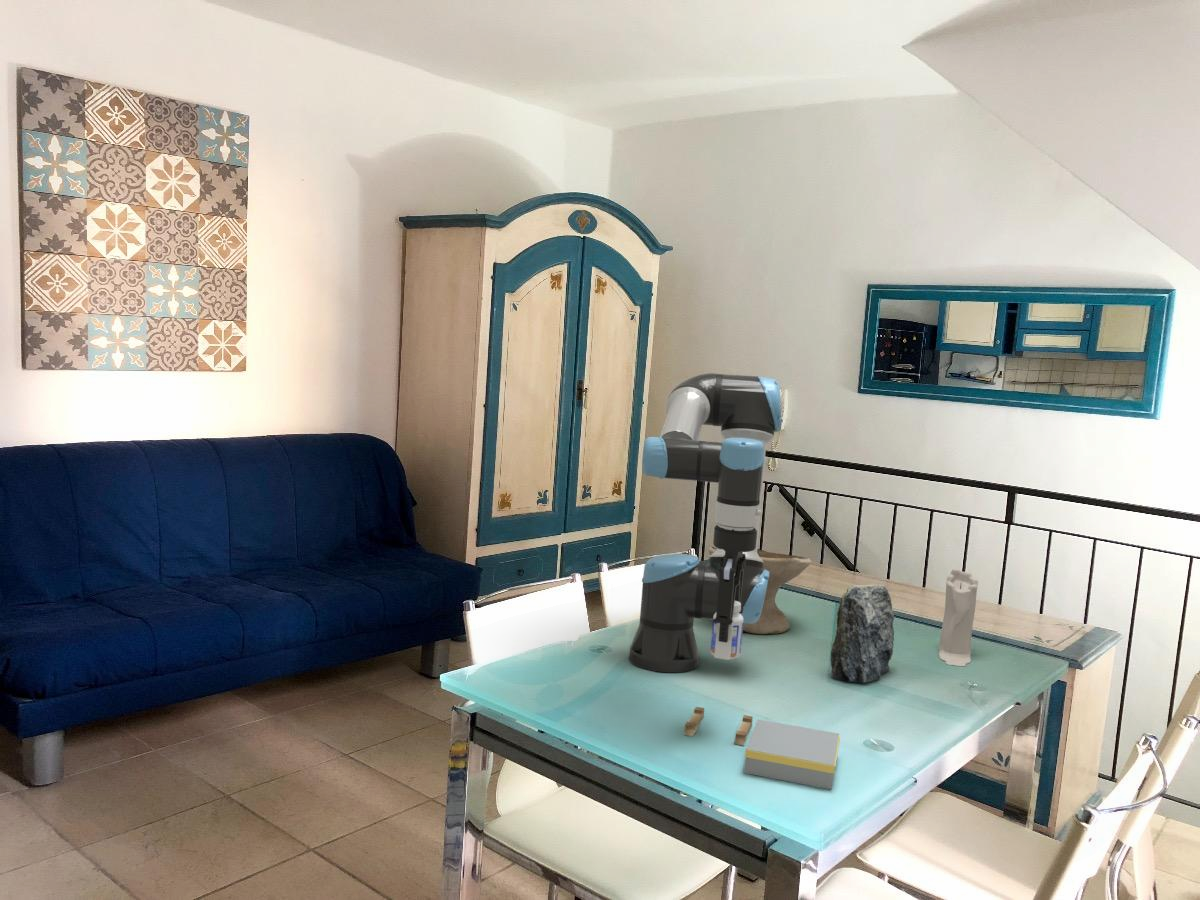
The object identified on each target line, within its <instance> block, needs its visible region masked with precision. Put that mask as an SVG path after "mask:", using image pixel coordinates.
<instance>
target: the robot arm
mask: <svg viewBox="0 0 1200 900" xmlns="http://www.w3.org/2000/svg"><path fill="white" fill-rule="evenodd" d="M781 399H782V398H781V389H780V383H779V382H778V381H777V380H776V379H774V378H770V377H764V376H763V377H762V376H759V375H757V376H753V375H738V374H737V375H735V374H723V373H722V374H720V373H711V372H710V373H703V374H698V375H696V376H692V377H690V378H688V379H686V380H684V381H682V382H680V383H679V384H678V385H676V386H675V388H673V389H672V390H671V392H670V394H669V395H668V397H667V400H666V404H665V410H666V411H665V412H666V417H665V419H664V420H665V421H664V423H663V427H662V429H661V432H660V434H659V435H660V436H649V437H646V438H645V440H644V442H643V449H642V458H641V469H642V470H641V471H642V473H643V474H644V475H645V476H647V477H654V478H658V479H671V480H684V481H692V482H693V481H694V482H698V481H699V482H707V483H715V484H716V483H717V486H718V487H717V498H716V502H715V512H714V513H715V515H714V522H715V524H716V525H715V526H714V530H713V542H712V543H713V547H714V548H717V550H716V551H715V552H714V553H713V554H712V555H710V554H709V558H708V560H709V561H708V564H703V563H700V560H699V557H698V556H696V555H694V554H687V553H671V554H661V555H657V556H654V557H653V556H652V557H651V558H649V559H648V560H647V561H646V562H645V564H644V566H643V575H642V576H643V577H642V578H641V582H642V589H641V590H642V591H641V599H640V600H641V603H640V613H639V614H640V615H639V624H638V627H637V629H636V632H635V634H634V637H633V638H632V641H631V644H630V646H629V653H628V660H629V661H630V662H631V663H632V664H633V665H636V666H637V667H639V668H642V669H646V670H650V671H655V672H661V673H685V672H688V671H689V672H690V671H692V670H694V669H696V668H697V667H698V666H699V659H700V653H699V648H698V645H697V642H696V641H697V640H696V636H695V632H694V622H695V621H694V619H699V620H700V619H702V620H709V621H710V620H711V621H712V623H713V622H716V623H717V632H716V644H715V656H713V657H714V659H720V660H726V661H730V660H731V659H730V656H731V644H732V633H733V623H732V622H733V620H732V618H733V610H734V602H735V601H738V602H740V603H741V610H740V612H739V614H741V615H742V616H743V623H749V624H752V623H755V622H757V621H758V620H759V618H760V615H761V611H762V607H763V603H764V598H765V594H766V589H767V584H768V579H769V571H767V570H763V563H764V562H763V560H762V559H761V558H760V557H759V556H758V553H757V550H758V547H759V535H760V533H759V532H760V525H761V523H760V521H761V516H762V515H763V510H762V509H761V508H762V499H763V497H762V496H763V489H764V487H763V485H764V473H765V462H766V452H767V451H766V450H767V445H769V443H771V442H772V441H773V440H774V439H775V438H774V437H775V433H778V432H779V431H781V430H782V400H781ZM703 426H713V427H720V435H721V437H722V438H723V439H724V440H722V442H719V441H718V442H716V441H708V440H707V441H705V440H699V439H700V435H701V431H702V427H703ZM716 612H717V613H716ZM715 613H716V618H715V619H713V616H714V614H715Z"/></svg>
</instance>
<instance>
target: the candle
mask: <svg viewBox="0 0 1200 900" xmlns="http://www.w3.org/2000/svg"><path fill="white" fill-rule="evenodd" d="M978 584H979V580H978V579H977V578H974V577H973V576H972V574H971V573H970V572H966V571H962V570H959V569H955V568H954V569H951V571H950V574H949V575H948V576H947V577H946V583H945V599H944V600H945V602H944V613H943V619H942V625H941V632H940V636H939V637H940V638H939V644H938V645H939V646H938V657H939V659H940V660H941V661H942V662H945V664H946V665H948V666H949V665H950V666H957V667H965V666H966V665H968V664H970V663H971V661H972V657H971V656H972V634H973V626H974V625H973V624H974V619H975V613H976V612H975V611H976V604H977V594H978V593H977V592H978Z"/></svg>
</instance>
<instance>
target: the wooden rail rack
mask: <svg viewBox="0 0 1200 900" xmlns="http://www.w3.org/2000/svg"><path fill="white" fill-rule="evenodd" d="M704 718H705V708H704V707H700V706H695V707H694V709H693V714H692V715H691V716H690V719H689V720H688V721H686V722H685V726H684V731H683V732H684V733H683V734H684V735H683V736H687V737H688V736H689V737H694V736H695V733H696V732H697V730H698V728H699V727H700V725H701V722H702V721H703V719H704ZM752 726H753V716H751V715H746V714H744V715H742V720H741V723H740V726H739V728H738V730H736V732H735V738H734V745H738V746H745V744H746V741H747V738H748V736H749V734H750V732H751V729H752Z"/></svg>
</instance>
